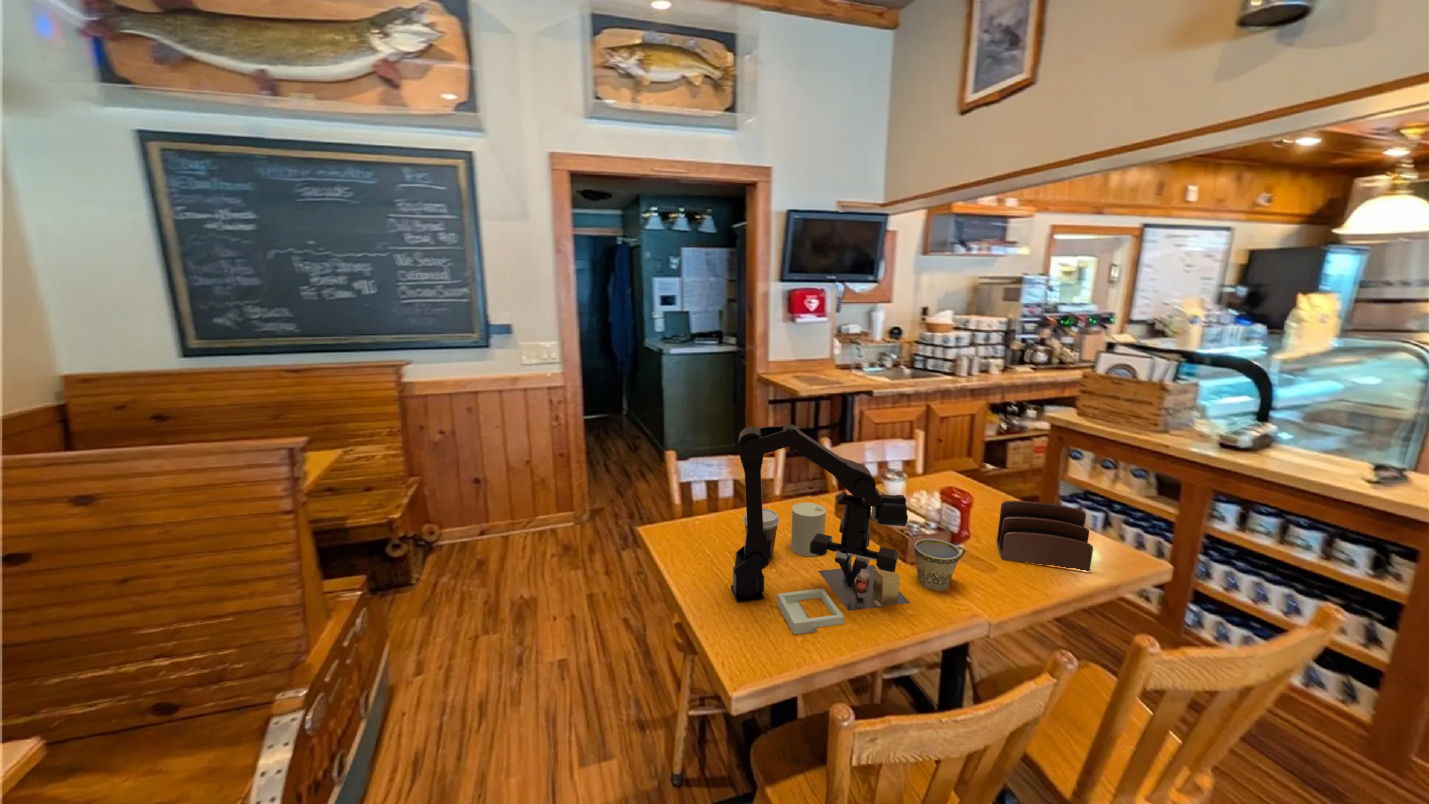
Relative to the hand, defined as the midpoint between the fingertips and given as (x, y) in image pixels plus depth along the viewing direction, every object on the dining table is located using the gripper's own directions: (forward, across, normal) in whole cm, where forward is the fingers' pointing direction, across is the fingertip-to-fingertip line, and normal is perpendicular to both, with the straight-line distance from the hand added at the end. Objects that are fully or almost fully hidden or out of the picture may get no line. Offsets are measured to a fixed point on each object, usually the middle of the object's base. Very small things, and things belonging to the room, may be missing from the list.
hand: (850, 586), depth 121 cm
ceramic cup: (+3, -18, -15) cm, 24 cm away
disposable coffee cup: (+4, +25, -10) cm, 27 cm away
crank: (+2, -1, -5) cm, 5 cm away
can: (+4, +15, -20) cm, 25 cm away
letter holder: (+2, -43, -41) cm, 59 cm away
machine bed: (+3, -2, -5) cm, 7 cm away
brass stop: (+2, -8, -3) cm, 8 cm away
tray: (+4, +7, +10) cm, 12 cm away
